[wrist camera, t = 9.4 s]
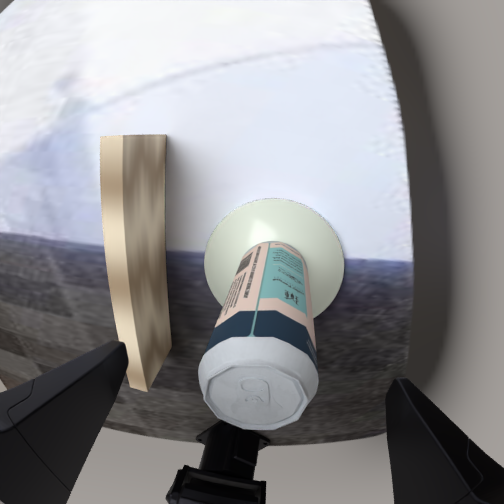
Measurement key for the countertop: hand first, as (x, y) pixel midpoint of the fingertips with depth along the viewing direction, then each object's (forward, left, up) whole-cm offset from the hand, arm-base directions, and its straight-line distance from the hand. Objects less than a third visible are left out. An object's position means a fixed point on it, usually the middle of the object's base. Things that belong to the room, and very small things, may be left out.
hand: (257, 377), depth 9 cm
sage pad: (-2, -1, -13) cm, 13 cm away
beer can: (-2, -1, -13) cm, 13 cm away
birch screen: (-7, +6, -13) cm, 16 cm away
